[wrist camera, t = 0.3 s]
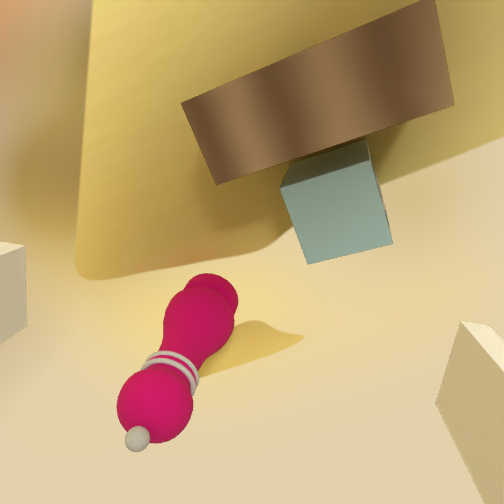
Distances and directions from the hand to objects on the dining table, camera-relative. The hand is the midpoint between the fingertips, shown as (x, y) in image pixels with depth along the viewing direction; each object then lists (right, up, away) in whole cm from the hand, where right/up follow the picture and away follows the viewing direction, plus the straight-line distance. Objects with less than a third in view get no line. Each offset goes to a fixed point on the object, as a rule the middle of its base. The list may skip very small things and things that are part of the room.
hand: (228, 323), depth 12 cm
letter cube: (+9, +8, +26) cm, 29 cm away
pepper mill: (-4, -3, +35) cm, 35 cm away
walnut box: (+6, +16, +22) cm, 28 cm away
